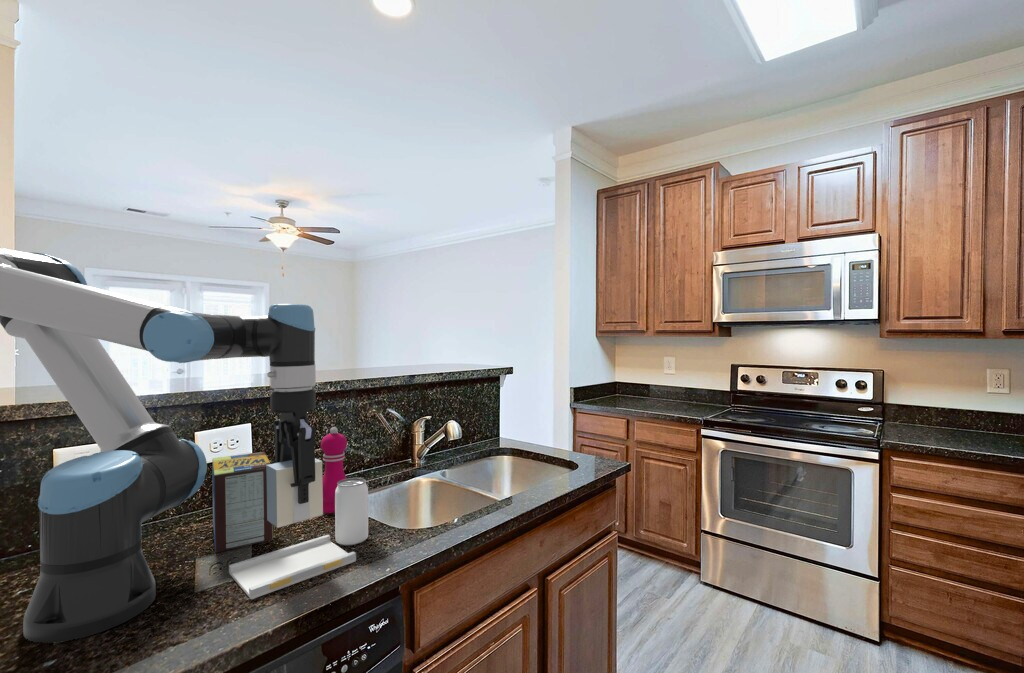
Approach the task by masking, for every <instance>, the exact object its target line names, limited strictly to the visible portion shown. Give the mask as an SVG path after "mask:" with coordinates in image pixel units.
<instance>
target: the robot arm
mask: <svg viewBox="0 0 1024 673" xmlns="http://www.w3.org/2000/svg"><path fill="white" fill-rule="evenodd" d="M267 314H268V315H267ZM267 314H265V315H259V316H258V315H226V314H213V313H201V312H194V311H190V310H186V309H182V308H178V307H174V306H168V305H166V304H165V305H164V304H161V303H157V302H153V301H149V300H145V299H141V298H136V297H133V296H129V295H125V294H121V293H117V292H113V291H110V290H109V291H108V290H104V289H101V288H97V287H93V286H89V285H88V283H87V281H86V278H85V276H84V275H83V274H82V272H81V271H80V270H79V269H78V268H77V267H75V265H73V264H71V263H70V262H69V261H67V260H63V259H62V258H59V257H55V256H53V255H52V256H51V255H48V254H46V253H41V252H32V251H31V252H27V251H21V250H16V249H12V248H11V249H10V248H6V247H0V325H1V326H2V328H3V329H4V331H5V333H7V334H8V335H9V336H11V337H16V338H21V339H24V340H25V341H26V343H28V344H27V345H29V347H30V348H31V350H32V351H33V353H34V354H35V356H36V357H37V358H38V360H39V362H40V363H41V364H42V366H43V367H44V369H45V370H46V372H47V373H48V374H49V376H50V377H51V379H52V380H53V382H54V383H55V385H56V387H57V388H58V389H59V391H60V392H61V394H62V395H63V396H64V398H65V400H67V402H68V403H69V405H70V407H72V409H73V410H74V412H75V414H76V416H77V417H78V419H79V420H80V421H81V423H82V424H83V426H84V427H85V429H86V430H87V431H88V433H89V434H90V436H91V437H92V438H93V440H94V442H95V443H96V444H97V446H98V447H99V448H100V452H95V453H92V454H90V455H83V456H79V457H76V458H73V459H69V460H66V461H64V462H62V463H60V464H58V465H55V466H54V467H52V468H51V469H50V470H48V471H47V472H46V473H45V474H44V475H43V477H42V479H41V481H40V487H39V488H40V492H39V496H38V500H37V507H38V512H39V513H38V516H39V517H38V519H39V520H38V521H39V523H38V524H39V526H38V527H39V557H40V558H39V561H40V562H39V563H40V564H39V565H40V567H39V568H40V571H39V572H40V573H39V577H38V580H37V582H36V586H35V587H34V590H33V593H32V596H31V598H30V600H29V603H28V605H27V608H26V610H25V613H24V615H23V621H22V622H23V624H22V625H23V627H22V631H23V632H22V633H23V634H22V635H23V637H24V639H25V640H27V639H28V640H27V641H29V640H30V641H29V642H31V641H34V642H33V643H36V642H48V643H47V644H55V643H54V642H56V643H62V641H64V642H68V641H69V640H70V641H73V639H75V640H78V638H79V639H82V637H83V638H87V637H90V636H92V635H95V634H99V633H102V632H105V631H107V630H110V629H113V628H115V627H118V626H119V625H121V624H123V623H126V622H128V621H130V620H131V619H133V618H135V617H137V616H138V615H139V614H141V613H143V612H144V611H145V610H147V609H148V608H149V607H150V606H151V605H152V603H153V602H154V601H155V598H156V595H157V594H156V590H157V589H156V588H157V587H156V579H155V577H154V576H153V573H152V570H151V569H150V566H149V564H148V561H147V560H146V558H145V555H144V553H143V549H142V548H143V546H142V545H143V544H142V536H143V535H142V523H145V522H147V521H148V520H150V519H152V518H154V517H156V516H157V515H159V514H161V513H163V512H165V511H168V510H169V509H171V508H175V507H178V506H179V505H181V504H182V503H183V502H185V501H186V500H187V499H189V498H191V497H192V496H193V495H195V493H197V492H198V491H199V490H200V488H201V487H202V485H203V483H204V481H205V478H206V474H207V471H208V463H207V459H206V458H207V457H206V455H205V453H204V451H203V450H202V448H201V447H200V446H199V445H198V444H196V443H195V442H194V441H192V440H187V439H184V438H178V437H177V435H176V434H175V432H174V431H173V430H172V428H171V426H170V425H168V424H164V423H163V424H162V423H157V422H155V420H154V419H153V417H152V416H151V415H150V413H149V412H148V411H147V409H146V407H145V406H144V404H143V403H142V401H141V400H140V399H139V398H138V396H137V395H136V393H135V391H134V390H133V389H132V387H131V385H130V384H129V382H127V380H126V378H125V377H124V375H123V374H122V373H121V371H120V370H119V368H118V366H117V364H115V362H114V360H113V359H112V357H111V356H110V354H109V353H108V352H107V350H106V349H105V347H104V346H103V345H102V343H101V342H100V340H101V341H106V342H110V343H113V344H117V345H122V346H126V347H130V348H135V349H138V350H143V351H147V352H149V353H150V354H151V356H153V357H154V358H156V359H157V360H160V361H163V362H167V363H168V362H169V363H173V362H174V363H180V364H183V363H184V364H186V363H192V362H196V361H198V362H199V361H207V360H218V359H232V358H233V359H234V358H257V357H261V358H266V357H268V358H269V372H267V374H266V375H267V377H268V378H270V384H269V385H270V388H271V389H274V390H271V392H270V394H269V399H270V403H269V404H270V407H269V408H270V411H271V412H273V413H276V414H280V416H279V419H274V420H273V424H272V425H273V430H274V463H279V462H284V461H290V460H292V463H293V472H294V481H295V483H292V484H290V485H291V487H292V500H293V522H294V523H293V524H296V523H300V522H303V521H307V520H310V519H311V518H310V496H309V483H311V482H314V481H315V458H316V451H315V450H316V447H315V446H316V444H315V443H316V442H315V440H316V433H317V432H316V430H317V429H316V428H317V427H316V426H315V425H313V426H310V425H309V423H310V422H309V419H308V412H309V411H313V410H314V409H315V408H316V406H317V405H316V404H317V402H316V400H317V399H316V396H317V393H316V390H315V389H314V388H313V387H315V386H316V385H317V384H316V382H317V380H316V378H317V377H316V371H317V370H316V361H315V358H316V357H315V355H316V354H315V352H316V351H315V350H316V348H315V347H316V346H315V345H316V344H315V343H316V341H315V340H316V334H315V333H316V327H315V316H314V315H315V314H314V310H313V308H312V307H311V306H310V305H307V304H299V303H278V304H272V305H270V306H269V308H268V312H267ZM70 641H69V642H70ZM49 642H51V643H49ZM52 642H53V643H52Z"/></svg>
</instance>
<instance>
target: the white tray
mask: <svg viewBox="0 0 1024 673" xmlns="http://www.w3.org/2000/svg"><path fill="white" fill-rule="evenodd" d="M355 562H357V552H355V551H351V552H347V551H346V550H344V549H343V548H341V547H340V546H339V545H337V544H335V543H333V542H332V541H331V535H329V534H325V535H322V536H320V537H319V536H318V537H316V538H313V539H309V540H307V541H303V542H300V543H297V544H293V545H290V546H287V547H283V548H280V549H278V550H273V551H270V552H268V553H264V554H261V555H257V556H254V557H250V558H247V559H245V560H241V561H238V562H233V563H232V564H229V565H228V574H229V575H230V576H231V577H232V579H233V580H234V581H235V583H237V585H238V586H239V587H240V589H241V590H242V591H243V592H244V593H245V594H246V596H247V597H248V598H249V599H250V600H254V599H256V598H259V597H261V596H265V595H268V594H270V593H273V592H276V591H278V590H281V589H284V588H287V587H289V586H292V585H295V584H297V583H300V582H303V581H305V580H309V579H311V578H314V577H317V576H319V575H322V574H325V573H327V572H330V571H333V570H336V569H339V568H341V567H344V566H347V565H349V564H352V563H355Z"/></svg>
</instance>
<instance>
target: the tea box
mask: <svg viewBox="0 0 1024 673" xmlns="http://www.w3.org/2000/svg"><path fill="white" fill-rule="evenodd" d="M266 472H267V520H268V521H269V522H270V523H272V524H273V527H276V528H277V529H278V528H282V527H286V526H289V525H292V524H295V523H294V522H293V500H292V487H291V485H290V484H292V483H295V481H294V472H293V463H292V460H290V461H284V462H279V463H275V462H274V463H270V464H269V465H266ZM322 479H323V460H321V459H318V458H316V457H315V481H314V482H311V483H309V496H310V519H313V518H317V517H320V516H323V515H324V512H323V486H322Z"/></svg>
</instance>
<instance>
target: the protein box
mask: <svg viewBox="0 0 1024 673" xmlns="http://www.w3.org/2000/svg"><path fill="white" fill-rule="evenodd" d="M269 464H271V462H270V460H269V458H268V456H267V454H266V453H265V451H260V452H251V453H244V454H236V455H227V456H226V455H225V456H221V457H219V456H218V457H213V458H212V464H211V465H212V466H211V468H212V470H211V472H212V473H211V475H212V479H211V480H212V481H211V482H212V484H211V485H212V487H211V488H212V493H211V494H212V528H213V541H214V543H213V544H214V553H221V552H224V551H229V550H233V549H238V548H242V547H247V546H252V545H256V544H260V543H265V542H270V541H274V540H273V539H274V525H273V524H272V523H270V522H269V521H268V520H267V472H266V465H269Z"/></svg>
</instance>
